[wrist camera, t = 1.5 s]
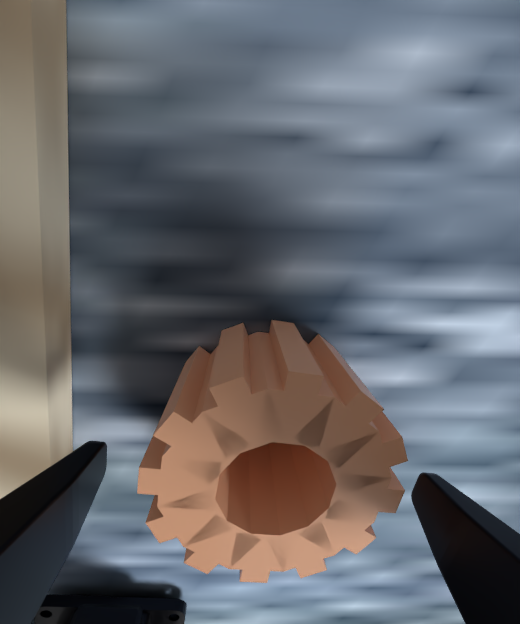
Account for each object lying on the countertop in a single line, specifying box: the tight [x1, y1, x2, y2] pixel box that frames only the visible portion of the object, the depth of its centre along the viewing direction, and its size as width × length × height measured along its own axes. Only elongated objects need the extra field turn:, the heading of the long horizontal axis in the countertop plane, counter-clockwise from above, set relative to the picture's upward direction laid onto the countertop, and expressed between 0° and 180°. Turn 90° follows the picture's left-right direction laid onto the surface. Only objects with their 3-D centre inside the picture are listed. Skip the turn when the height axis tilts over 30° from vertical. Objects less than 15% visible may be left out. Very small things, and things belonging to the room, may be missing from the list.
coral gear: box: [137, 320, 408, 583], centre depth 8 cm, size 7×7×4 cm
